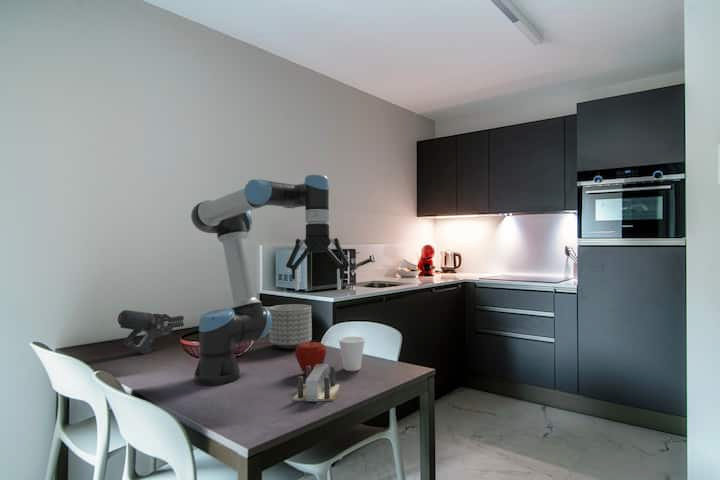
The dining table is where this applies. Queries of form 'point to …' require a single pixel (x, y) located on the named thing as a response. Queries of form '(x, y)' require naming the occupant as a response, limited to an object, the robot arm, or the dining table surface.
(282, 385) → the dining table surface
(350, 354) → the cup
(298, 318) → the planter
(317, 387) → the grey stepped post
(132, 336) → the gun
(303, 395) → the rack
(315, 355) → the apple
